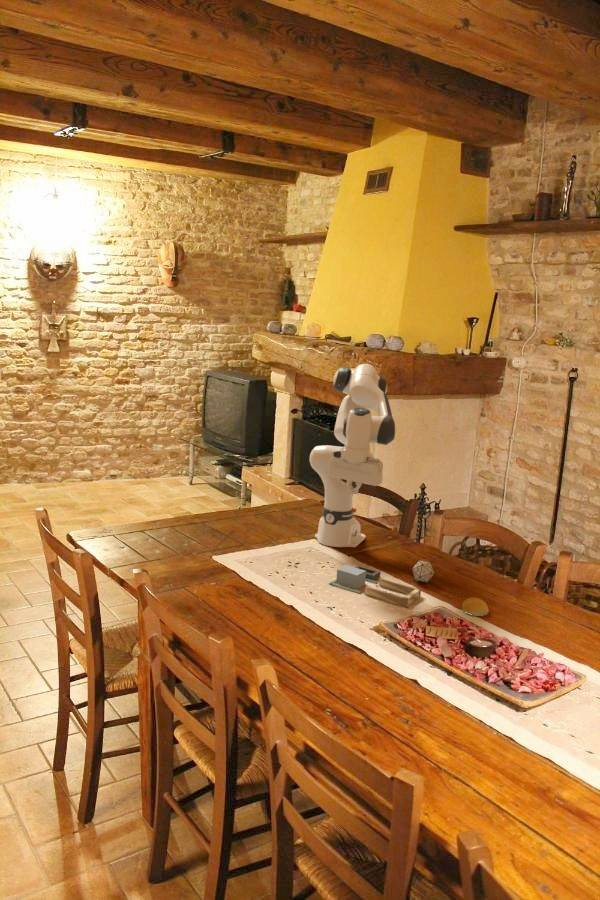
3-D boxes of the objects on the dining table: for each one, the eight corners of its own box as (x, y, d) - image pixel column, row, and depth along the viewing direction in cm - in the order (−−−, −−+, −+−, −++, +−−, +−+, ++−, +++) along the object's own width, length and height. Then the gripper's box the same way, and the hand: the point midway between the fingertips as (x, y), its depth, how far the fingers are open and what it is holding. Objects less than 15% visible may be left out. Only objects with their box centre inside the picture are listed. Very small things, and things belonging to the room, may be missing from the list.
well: (357, 570, 266) (358, 565, 266) (380, 576, 261) (380, 571, 261) (350, 574, 262) (351, 569, 261) (373, 580, 257) (373, 575, 256)
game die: (425, 591, 261) (444, 570, 260) (420, 590, 253) (439, 569, 252) (407, 573, 265) (426, 553, 264) (401, 572, 257) (420, 551, 256)
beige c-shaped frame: (380, 584, 254) (380, 577, 253) (420, 596, 246) (421, 589, 246) (364, 594, 244) (365, 587, 244) (405, 606, 237) (406, 599, 236)
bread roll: (462, 616, 233) (464, 604, 232) (461, 604, 242) (462, 593, 241) (489, 619, 232) (491, 607, 231) (487, 608, 241) (488, 596, 240)
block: (345, 578, 258) (346, 564, 257) (364, 584, 254) (366, 570, 253) (336, 583, 253) (337, 569, 252) (356, 589, 249) (357, 575, 248)
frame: (347, 574, 262) (347, 573, 262) (377, 582, 255) (377, 581, 255) (328, 584, 251) (328, 583, 251) (359, 593, 245) (359, 592, 244)
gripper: (387, 458, 253) (383, 497, 255) (336, 449, 263) (333, 486, 266) (379, 461, 247) (375, 501, 250) (327, 451, 258) (324, 489, 261)
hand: (353, 493), depth 258 cm, fingers closed
